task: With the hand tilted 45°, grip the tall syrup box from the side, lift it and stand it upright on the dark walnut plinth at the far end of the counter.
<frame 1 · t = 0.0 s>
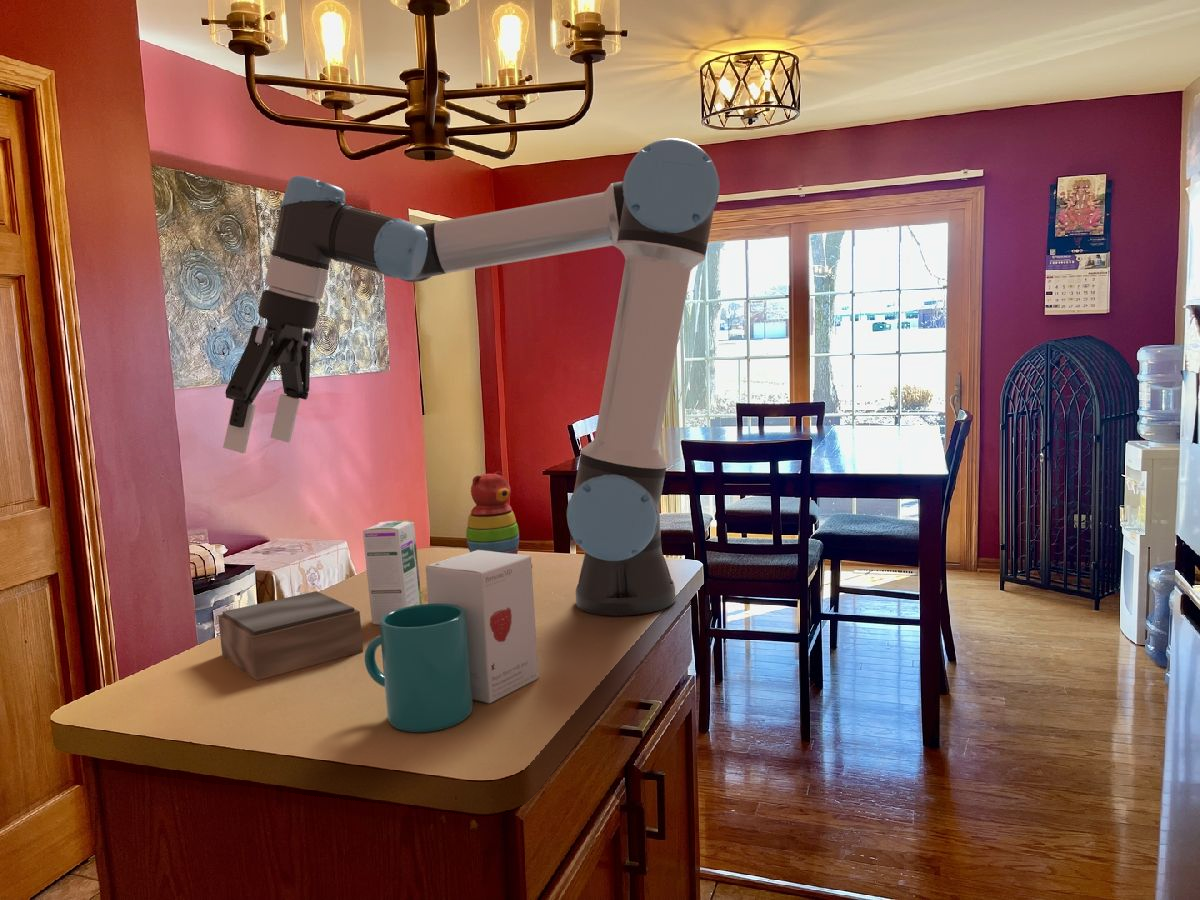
hand: (258, 445, 121), 28 cm above the counter, tool tilted 20°, fingers open, 13 cm apart
cup: (419, 717, 94), on the counter
plinth: (292, 653, 118), on the counter
supplement box: (487, 686, 102), on the counter
syrup box: (397, 620, 131), on the counter
stacking bear: (496, 572, 157), on the counter
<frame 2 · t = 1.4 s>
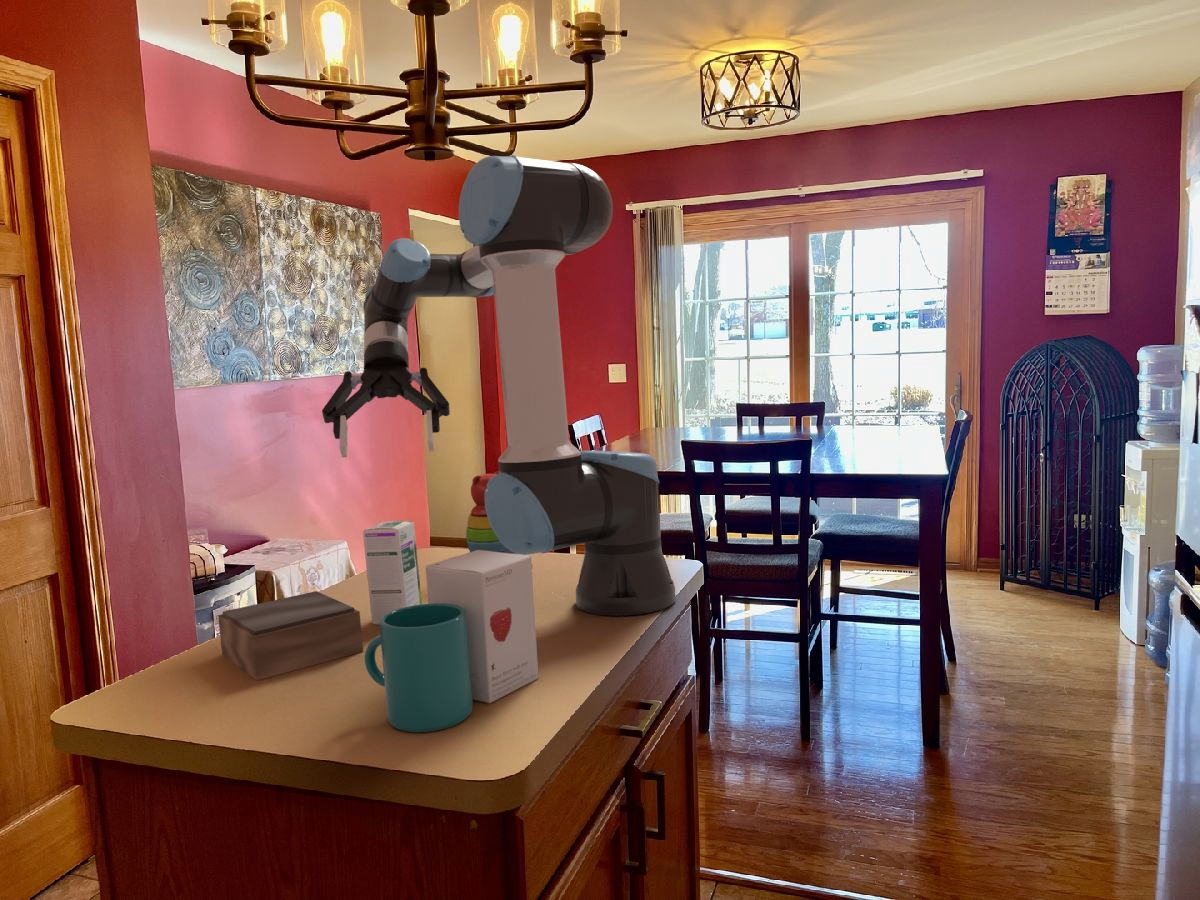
hand: (387, 449, 139), 25 cm above the counter, tool tilted 45°, fingers open, 13 cm apart
nothing on the counter moved.
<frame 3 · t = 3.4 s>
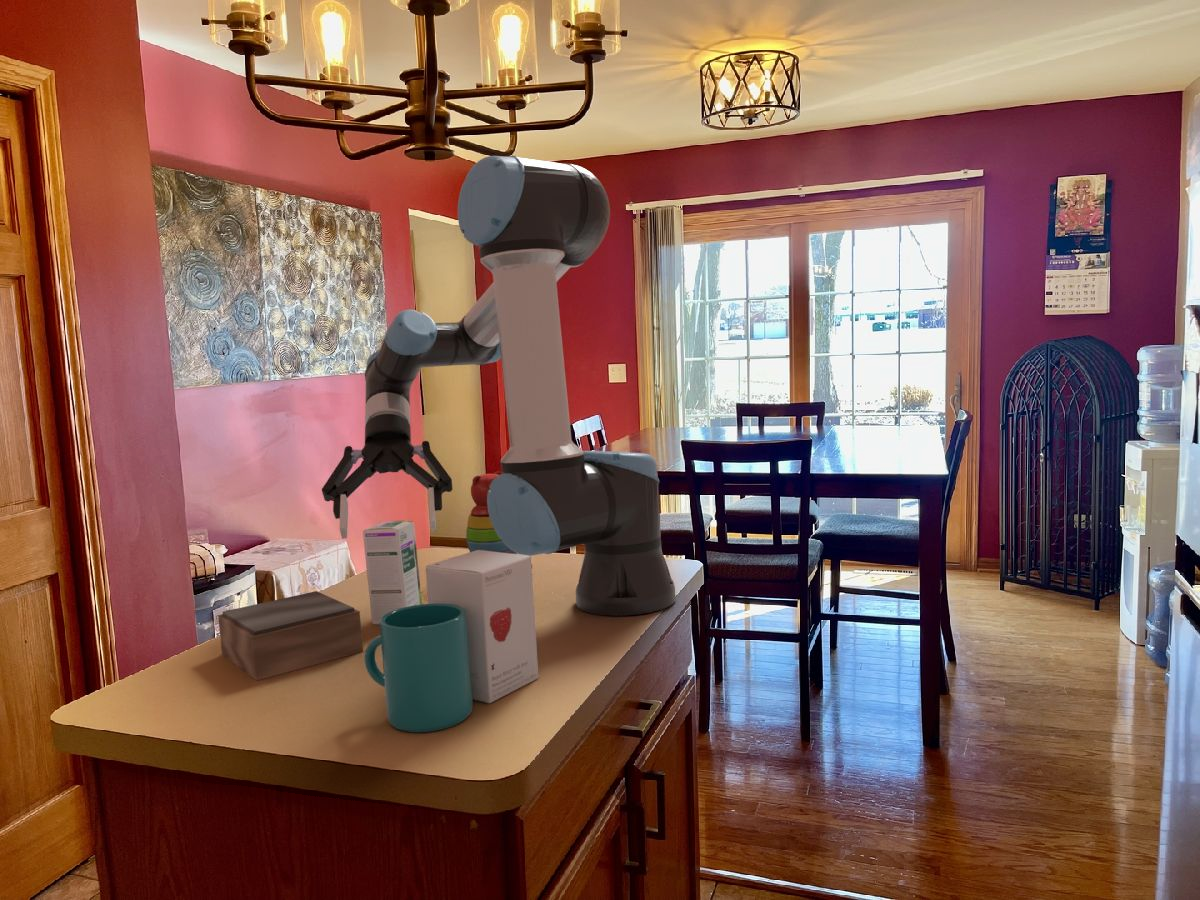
hand: (388, 530, 135), 12 cm above the counter, tool tilted 45°, fingers open, 13 cm apart
nothing on the counter moved.
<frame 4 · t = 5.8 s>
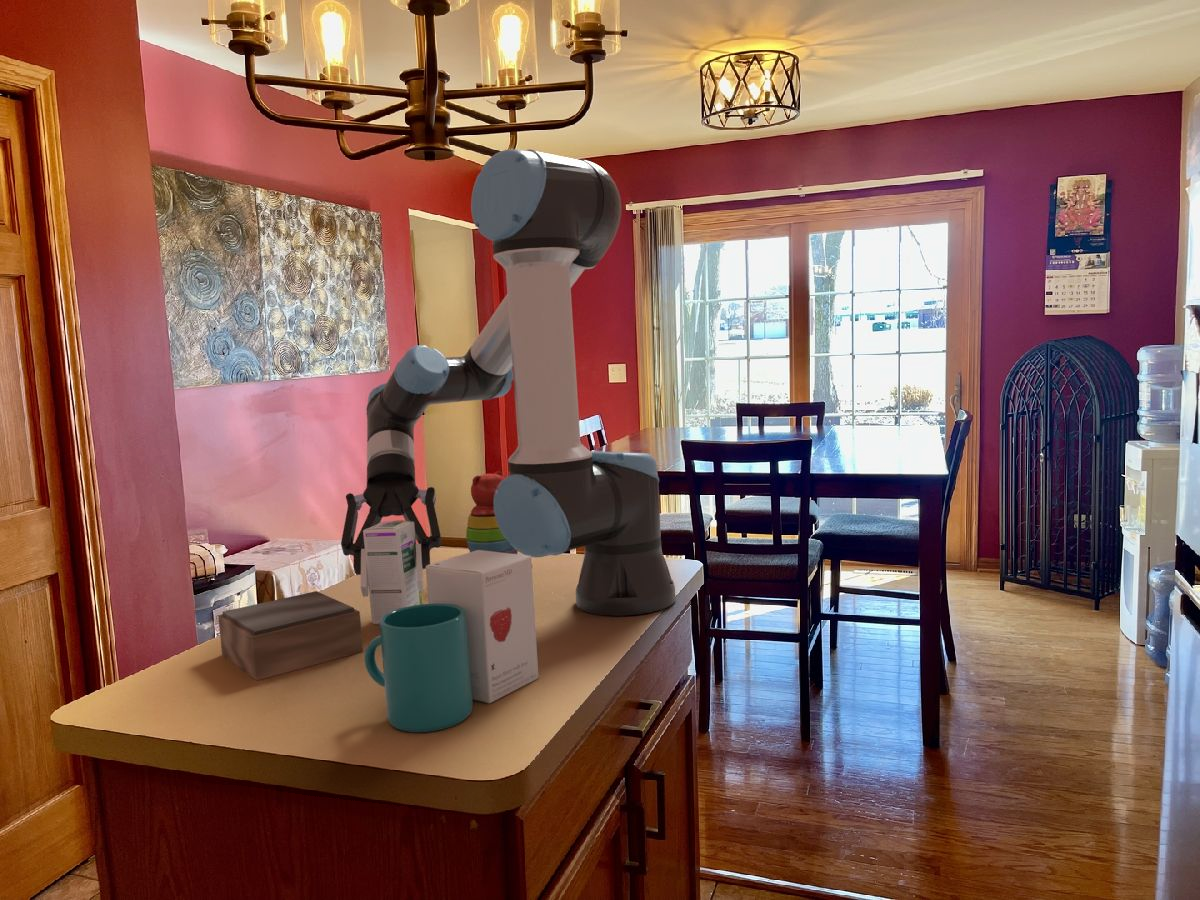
hand: (392, 588, 127), 6 cm above the counter, tool tilted 45°, fingers closed on syrup box, 7 cm apart
syrup box: (397, 620, 131), on the counter, touching gripper
everything else where it was.
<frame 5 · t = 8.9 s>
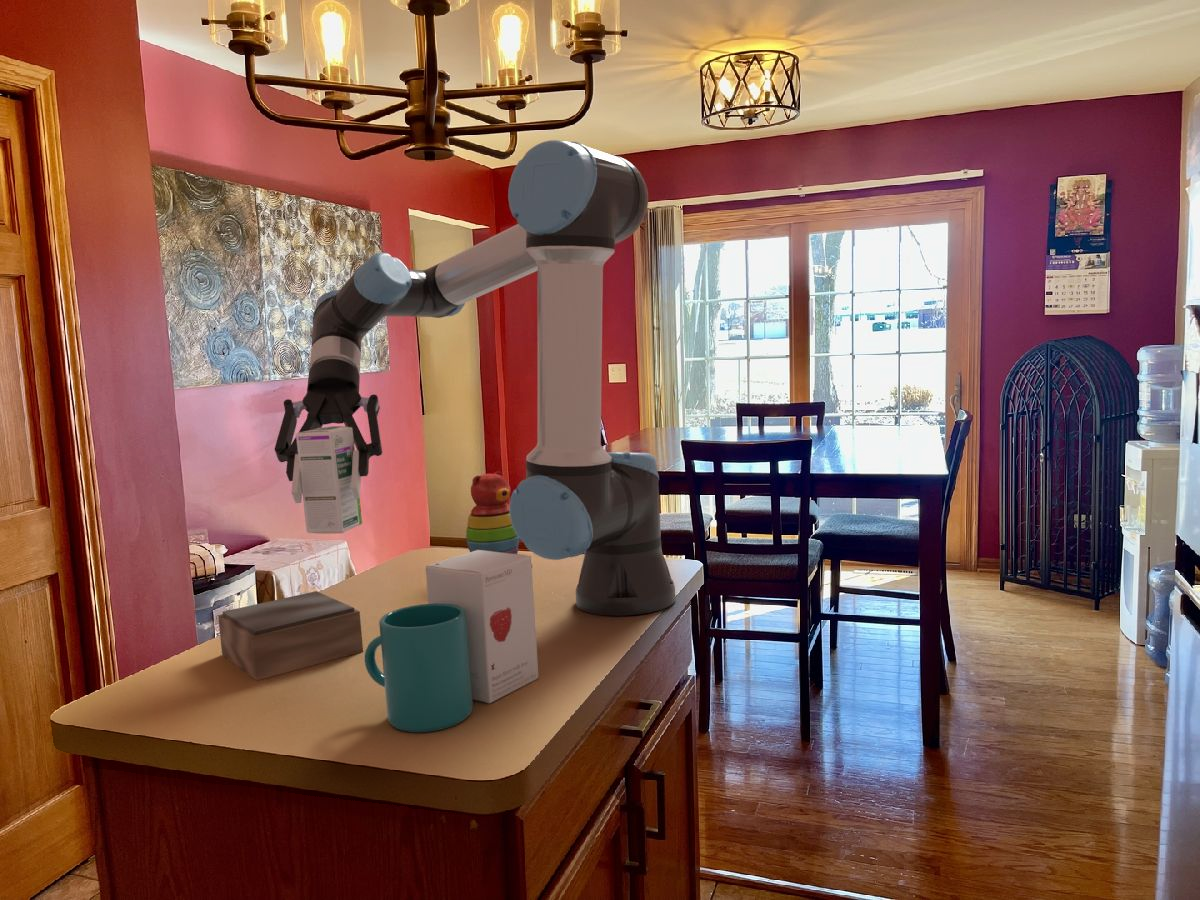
hand: (326, 495, 120), 20 cm above the counter, tool tilted 45°, fingers closed on syrup box, 7 cm apart
syrup box: (334, 530, 125), point 15 cm above the counter, touching gripper
everything else where it was.
when the fingers open (13 cm above the counter, at t = 11.7 s): syrup box drops 1 cm, resting on plinth.
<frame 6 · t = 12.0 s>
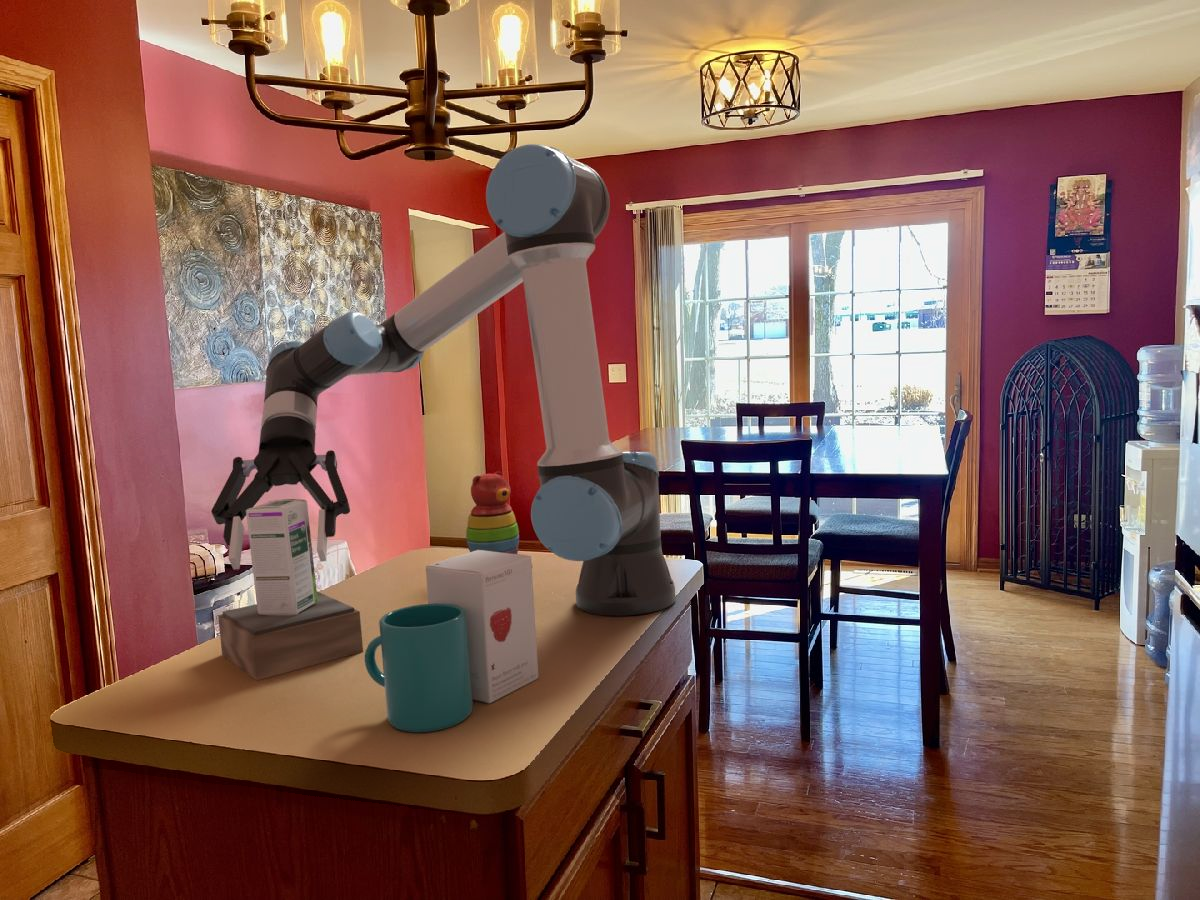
hand: (278, 559, 113), 14 cm above the counter, tool tilted 45°, fingers open, 10 cm apart
syrup box: (287, 610, 117), point 6 cm above the counter, touching plinth
everything else where it was.
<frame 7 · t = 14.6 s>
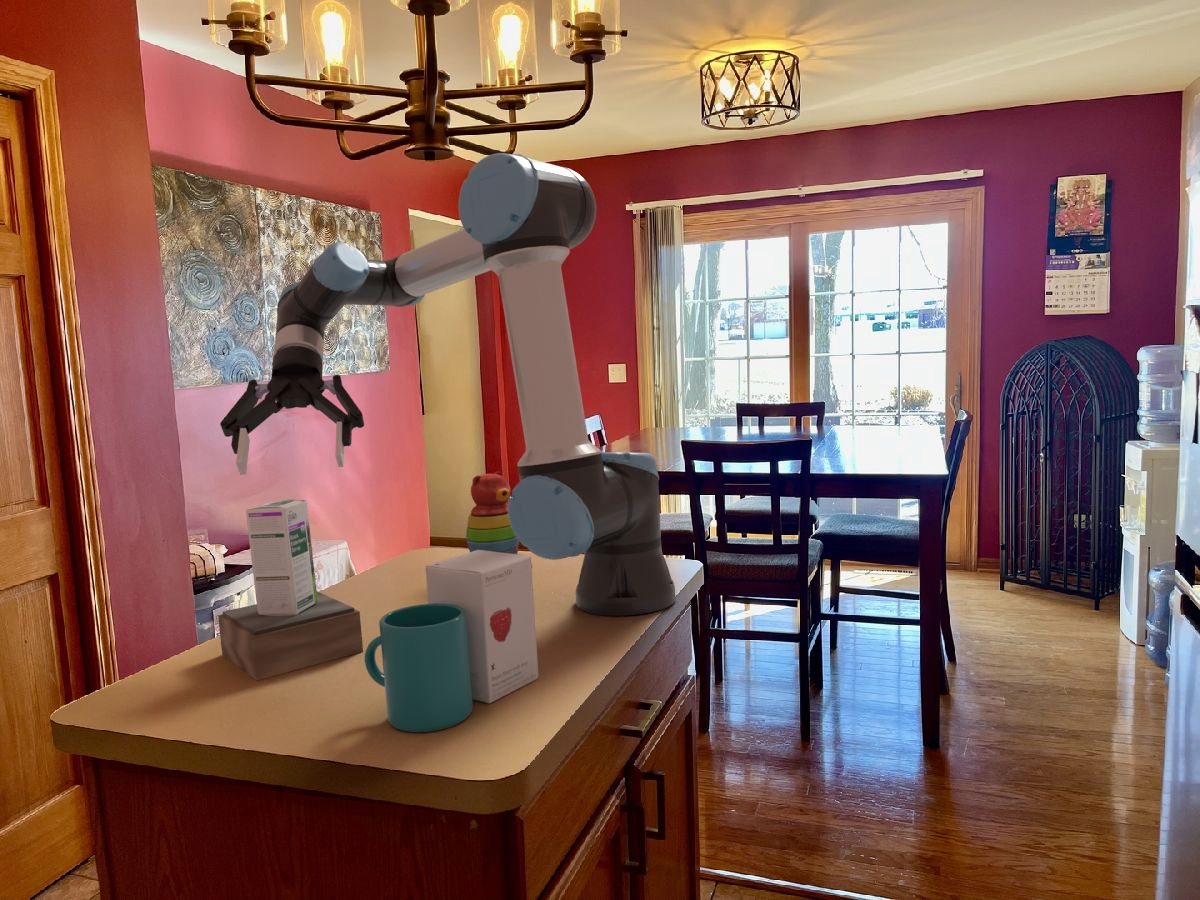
hand: (290, 465, 126), 24 cm above the counter, tool tilted 45°, fingers open, 13 cm apart
nothing on the counter moved.
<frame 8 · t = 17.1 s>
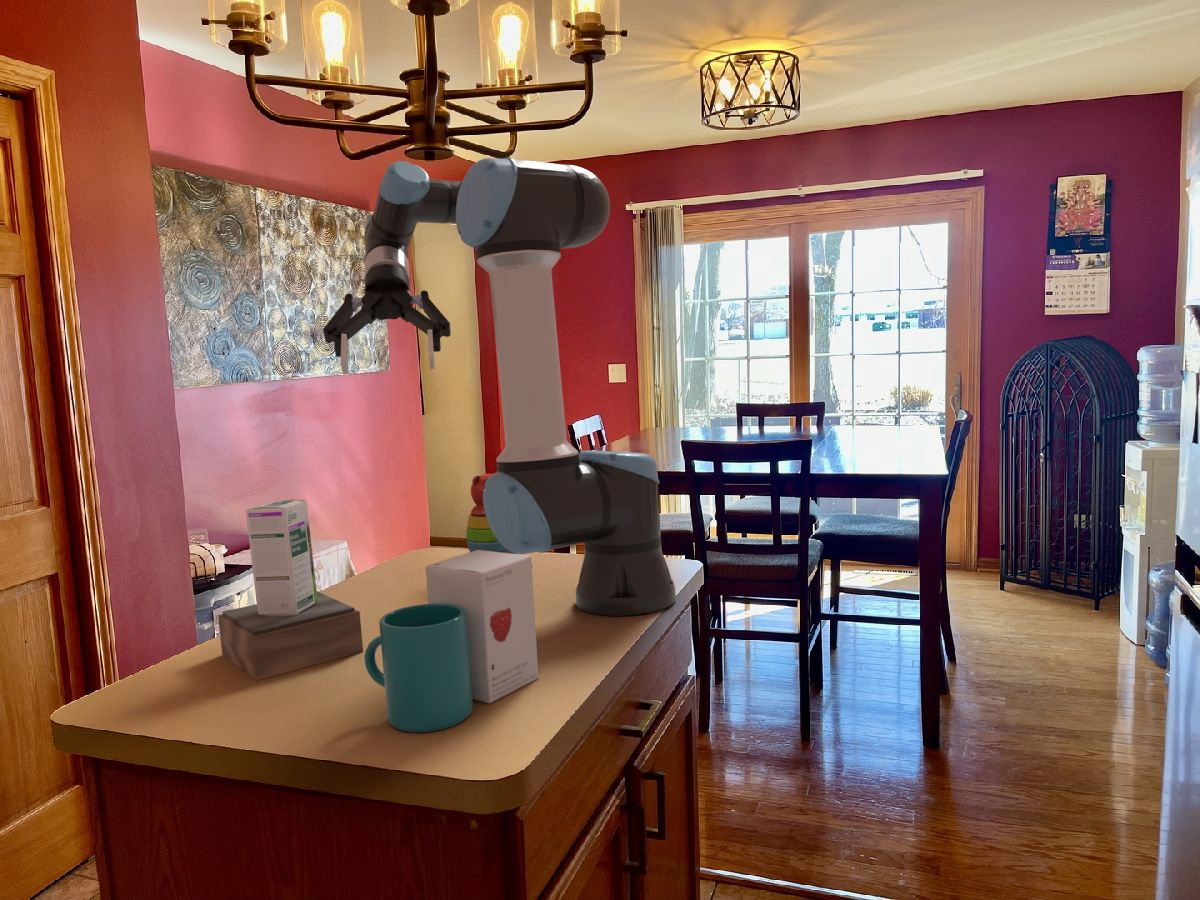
hand: (388, 366, 139), 38 cm above the counter, tool tilted 45°, fingers open, 13 cm apart
nothing on the counter moved.
at the end: syrup box inside the target area on the plinth (0.1 cm from its centre), point 5.8 cm above the plinth's base; syrup box tilted 0°; syrup box touching plinth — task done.
